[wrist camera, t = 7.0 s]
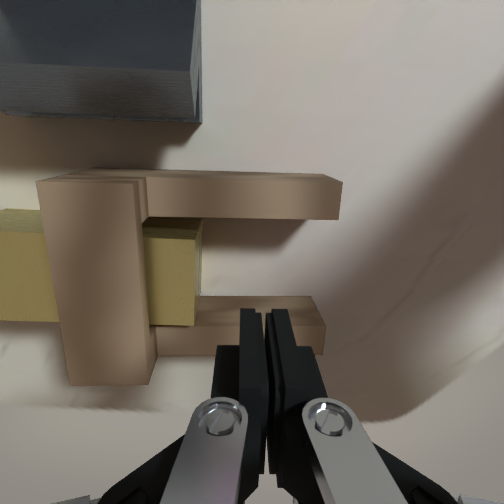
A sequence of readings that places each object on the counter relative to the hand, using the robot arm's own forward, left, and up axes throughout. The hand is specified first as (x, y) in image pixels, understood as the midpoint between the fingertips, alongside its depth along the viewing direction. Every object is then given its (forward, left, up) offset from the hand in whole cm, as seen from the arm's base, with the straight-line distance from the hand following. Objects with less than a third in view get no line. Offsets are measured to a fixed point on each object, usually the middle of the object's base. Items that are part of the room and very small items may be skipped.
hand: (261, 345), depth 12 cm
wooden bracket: (+2, 0, -11) cm, 12 cm away
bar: (+9, 0, -12) cm, 15 cm away
